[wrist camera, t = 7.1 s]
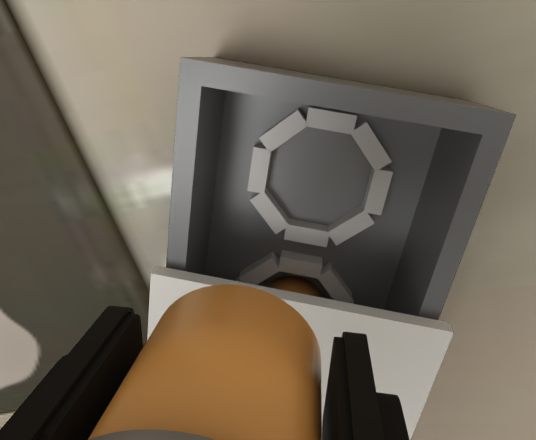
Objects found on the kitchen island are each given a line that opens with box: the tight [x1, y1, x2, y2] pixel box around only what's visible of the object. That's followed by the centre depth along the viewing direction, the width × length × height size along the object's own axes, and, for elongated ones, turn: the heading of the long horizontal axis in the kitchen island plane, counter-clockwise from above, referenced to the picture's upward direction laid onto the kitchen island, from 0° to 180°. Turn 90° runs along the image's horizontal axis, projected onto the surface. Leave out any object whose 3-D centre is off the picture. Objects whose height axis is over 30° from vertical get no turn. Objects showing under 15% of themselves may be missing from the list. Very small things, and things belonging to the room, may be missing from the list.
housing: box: [166, 57, 516, 320], centre depth 23 cm, size 14×20×6 cm
